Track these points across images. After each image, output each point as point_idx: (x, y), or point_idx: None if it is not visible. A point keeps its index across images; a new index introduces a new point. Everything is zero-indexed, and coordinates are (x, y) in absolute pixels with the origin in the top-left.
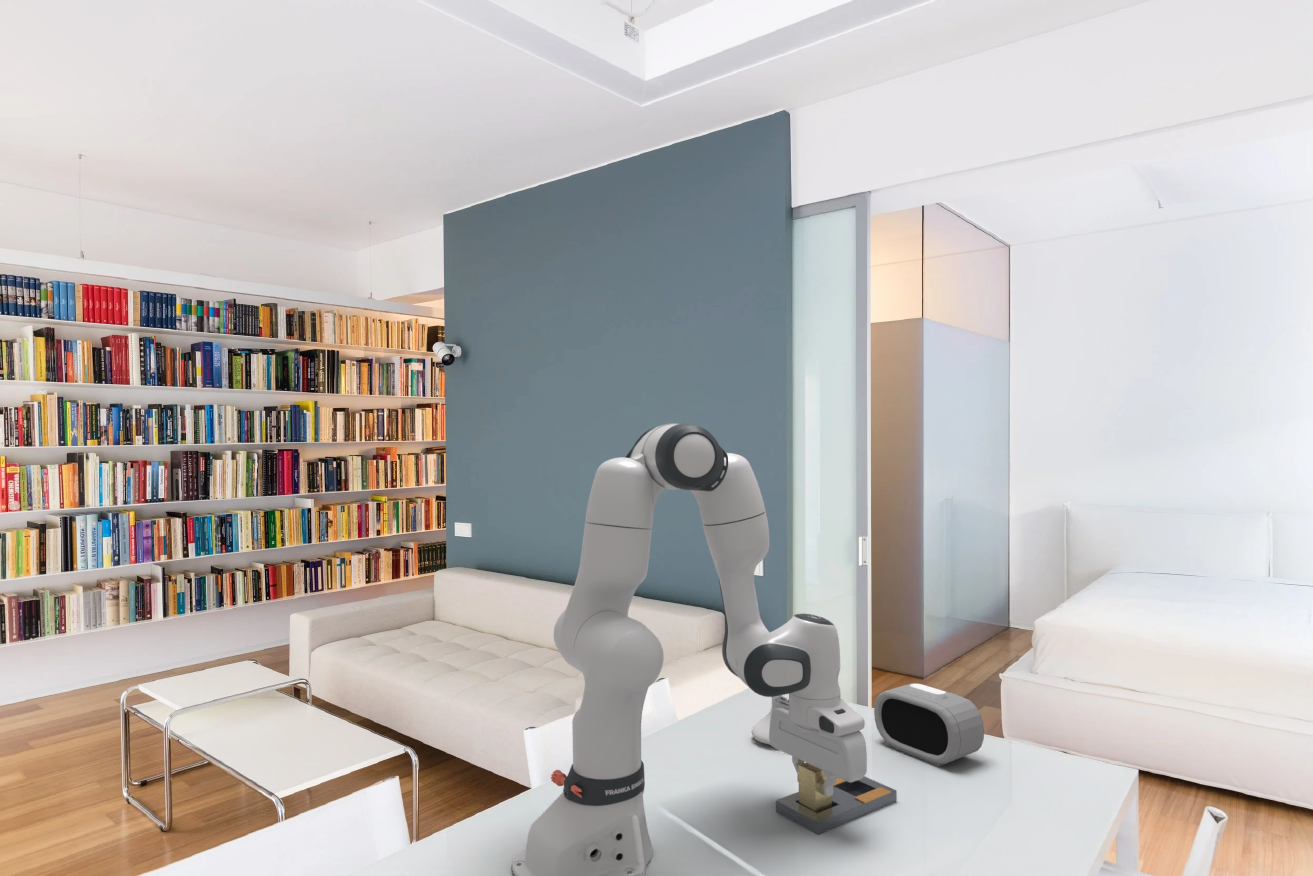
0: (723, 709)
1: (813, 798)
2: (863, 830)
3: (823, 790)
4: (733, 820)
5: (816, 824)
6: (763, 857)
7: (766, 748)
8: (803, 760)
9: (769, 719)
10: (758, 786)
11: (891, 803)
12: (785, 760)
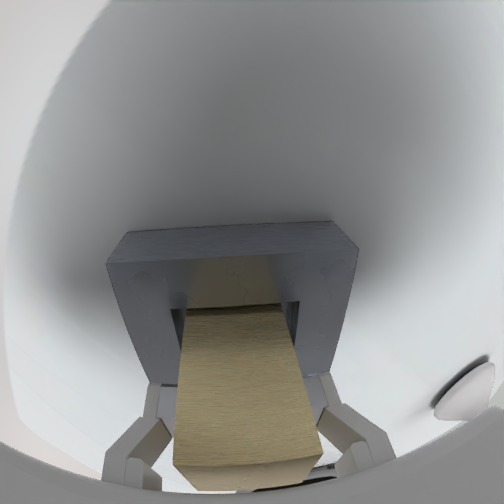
0: None
1: (193, 348)
2: (133, 356)
3: (161, 399)
4: (404, 98)
5: (115, 257)
6: (147, 10)
7: (469, 365)
8: (293, 494)
9: (484, 399)
10: (448, 291)
11: None
12: (437, 375)
